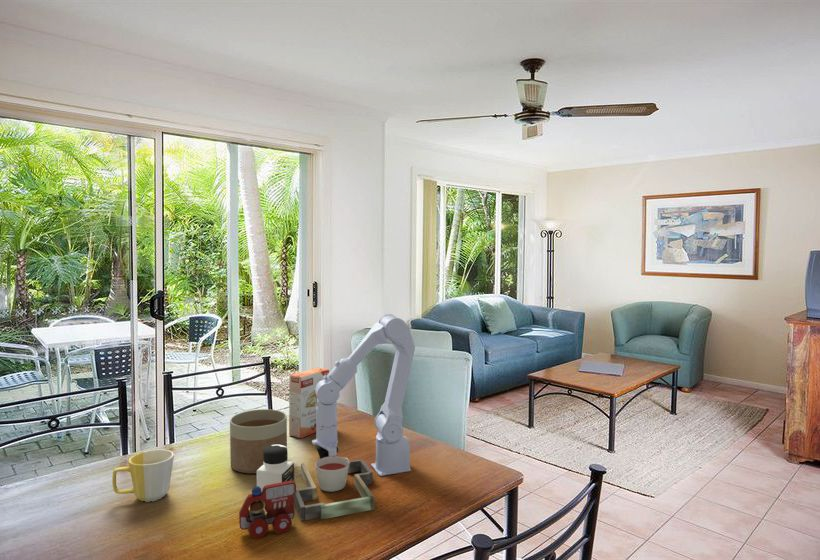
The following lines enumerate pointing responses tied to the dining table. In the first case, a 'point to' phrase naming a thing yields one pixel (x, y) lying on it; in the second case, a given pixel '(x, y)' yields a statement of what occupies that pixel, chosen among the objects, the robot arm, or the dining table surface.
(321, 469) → the candle
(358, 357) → the robot arm
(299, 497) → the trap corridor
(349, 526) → the dining table surface
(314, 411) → the cracker box
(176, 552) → the dining table surface
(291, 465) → the medicine bottle
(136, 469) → the mug
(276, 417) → the planter
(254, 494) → the toy fire truck
